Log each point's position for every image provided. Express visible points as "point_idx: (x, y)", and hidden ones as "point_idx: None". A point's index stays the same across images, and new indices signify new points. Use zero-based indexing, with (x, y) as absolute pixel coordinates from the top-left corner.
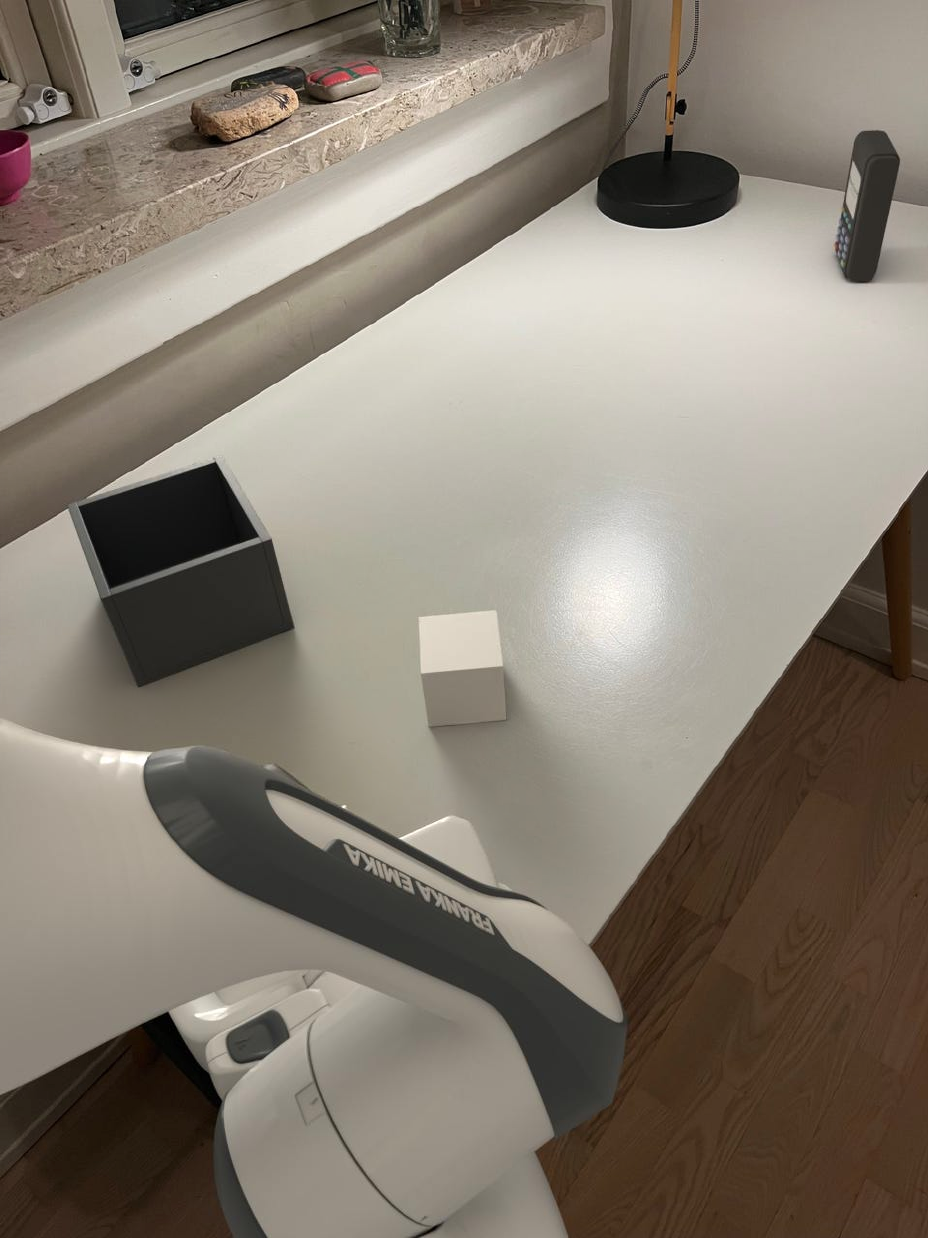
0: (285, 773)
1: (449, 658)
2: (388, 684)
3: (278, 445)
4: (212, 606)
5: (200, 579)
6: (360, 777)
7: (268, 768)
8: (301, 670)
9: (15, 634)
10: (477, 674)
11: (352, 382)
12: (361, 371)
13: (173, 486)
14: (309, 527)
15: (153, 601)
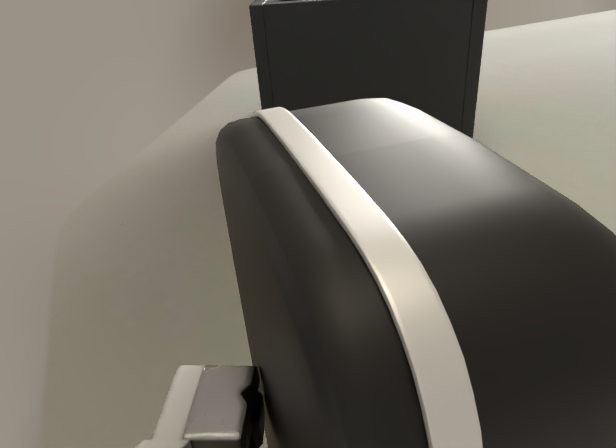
0: (440, 121)
1: None
2: (612, 231)
3: (487, 50)
4: (380, 74)
5: (377, 23)
6: None
7: (381, 99)
8: None
9: (195, 109)
10: None
11: (567, 31)
12: (577, 27)
13: None
14: (508, 91)
15: (311, 36)
